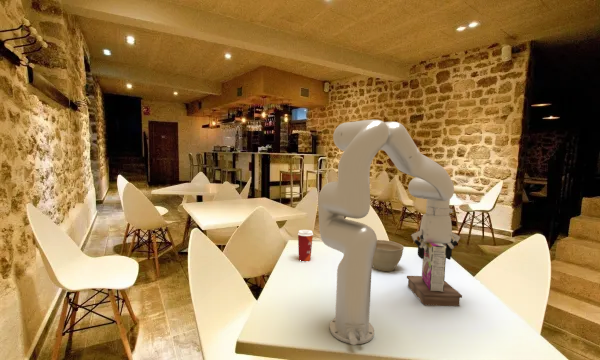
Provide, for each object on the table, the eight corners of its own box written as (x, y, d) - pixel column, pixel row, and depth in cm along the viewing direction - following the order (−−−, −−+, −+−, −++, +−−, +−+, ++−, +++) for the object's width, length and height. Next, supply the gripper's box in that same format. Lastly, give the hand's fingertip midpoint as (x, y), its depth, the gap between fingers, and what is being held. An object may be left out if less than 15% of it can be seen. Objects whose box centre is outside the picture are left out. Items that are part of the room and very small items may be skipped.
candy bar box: (420, 278, 113) (423, 236, 112) (434, 279, 113) (436, 237, 111) (429, 291, 102) (432, 245, 101) (444, 292, 102) (447, 246, 100)
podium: (461, 306, 100) (462, 295, 100) (423, 305, 100) (424, 294, 100) (438, 286, 116) (439, 276, 116) (406, 285, 116) (406, 275, 116)
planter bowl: (407, 275, 126) (408, 250, 126) (369, 274, 127) (370, 249, 126) (395, 262, 142) (397, 240, 142) (362, 260, 143) (363, 239, 142)
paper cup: (312, 262, 138) (313, 233, 137) (296, 262, 138) (297, 233, 137) (312, 257, 146) (313, 229, 145) (296, 256, 146) (297, 229, 145)
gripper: (455, 210, 110) (452, 255, 111) (409, 209, 109) (406, 254, 111) (467, 214, 102) (463, 262, 103) (417, 213, 102) (414, 261, 103)
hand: (434, 258), depth 107 cm, fingers open, 9 cm apart
